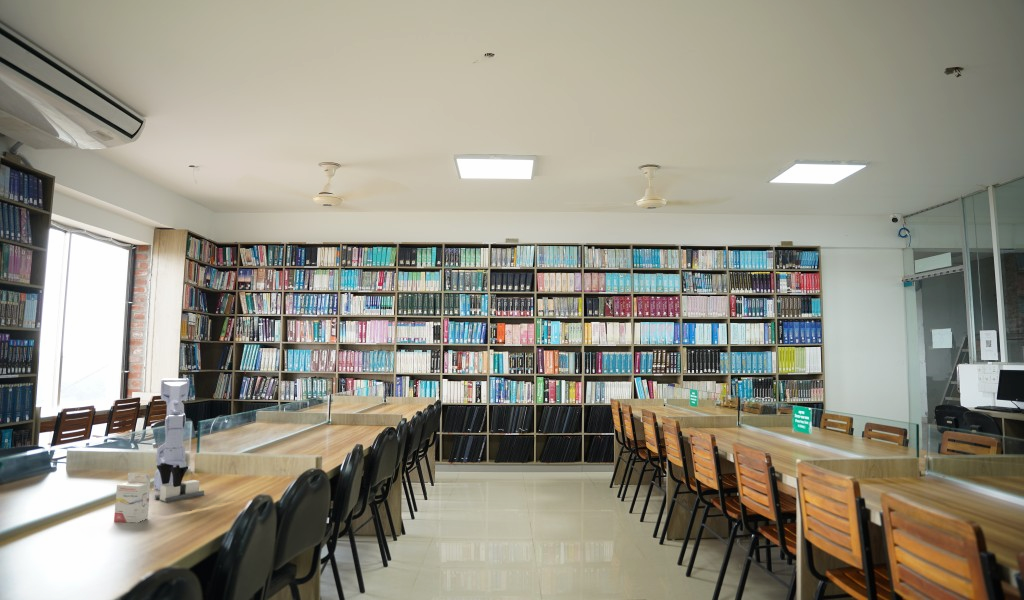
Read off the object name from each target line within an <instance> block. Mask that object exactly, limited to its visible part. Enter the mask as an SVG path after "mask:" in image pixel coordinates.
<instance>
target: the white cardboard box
mask: <svg viewBox="0 0 1024 600" xmlns="http://www.w3.org/2000/svg"><path fill="white" fill-rule="evenodd" d="M159 494H160V500H163V501H165V498H167V497H172V496H177V495H181V485H180V486H178V487H174V486H173V483H171V484H166V485H161V486H160V490H159Z"/></svg>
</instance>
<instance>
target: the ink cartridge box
mask: <svg viewBox="0 0 1024 600" xmlns="http://www.w3.org/2000/svg"><path fill="white" fill-rule="evenodd" d="M138 477H140V478H138ZM150 481H151V475H150V473H142V472H140V473H139V472H128V473H127V481H125V482H123V483H119V484H117V485H116V493H115V504H114V516H113V517H114V518H113V521H114V522H115V523H116V522H117V523H130V522H136V523H135V524H138V523H140V521H141V522H143V521H145V519H146V520H147V518H148V519H149V506H150V492H151V491H150V489H151V482H150ZM142 520H143V521H142Z"/></svg>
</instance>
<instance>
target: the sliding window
mask: <svg viewBox="0 0 1024 600" xmlns="http://www.w3.org/2000/svg"><path fill="white" fill-rule="evenodd" d="M202 496H205V490H199V491H197V492H192V493H187V494H182V495H177V496H172V497H167V498H165V501H163V500H160V493H159V494H155V495H154V498H153V500H155V501H159V502H162V503H166V504H168V503H169V504H170V503H173V502H178V501H183V500H187V499H193V498H197V497H198V498H199V497H202Z"/></svg>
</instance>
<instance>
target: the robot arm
mask: <svg viewBox="0 0 1024 600" xmlns="http://www.w3.org/2000/svg"><path fill="white" fill-rule="evenodd" d="M160 384H161V385H160V398H161V401H164V402H165V403H166V416H165V418H164V419H165V421H164V430H165V432H164V433H165V434H164V435H165V439H164V440H165V441H164V443H163V444H160V445H159V446H158V447H157V449H156V457H155V467H156V468H157V469H156V470H155V472H154V475H153V477H154V479H153V488H152V489H151V488H150V489H151V491H152V490H157V491H160V486H161V485H166V484H171V483H173V486H174V487H178V486H180V485H181V482H183V478H184V477H185V474H186V472H187V471H188V469H189V466H187V461H186V447H185V445H184V430H185V428H186V420H187V419H186V418H187V417H186V412H185V404H184V403H183V401H185V400H187V399H188V398H187V397H188V395H189V391H190V379H189V378H188V377H186V378H162V379H161V381H160Z"/></svg>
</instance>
